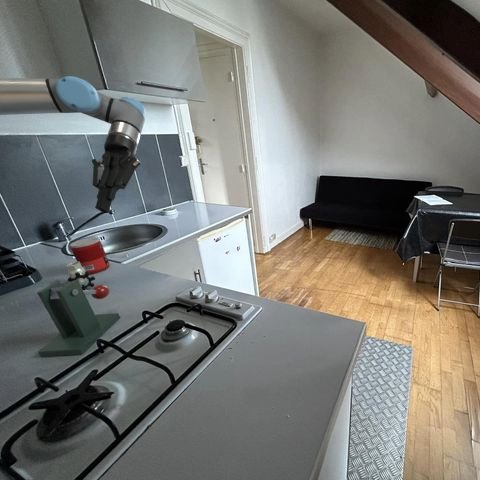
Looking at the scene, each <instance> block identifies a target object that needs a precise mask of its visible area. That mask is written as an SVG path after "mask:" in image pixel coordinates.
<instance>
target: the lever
mask: <svg viewBox="0 0 480 480" xmlns="http://www.w3.org/2000/svg"><path fill="white" fill-rule="evenodd" d="M61 288H62V287H58V288H51V293H50V299H60V298H59V296H58V294H57V292H56V291H58V290H59V289H61ZM83 291H84V293H85V296H86V295H91V296H92V298H94V299H95V300H103V299H105V298H107V297H108V296H109V294H110V288H109V286H107V285H105V284H98V285H94V287H92V289H88V290H83Z"/></svg>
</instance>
